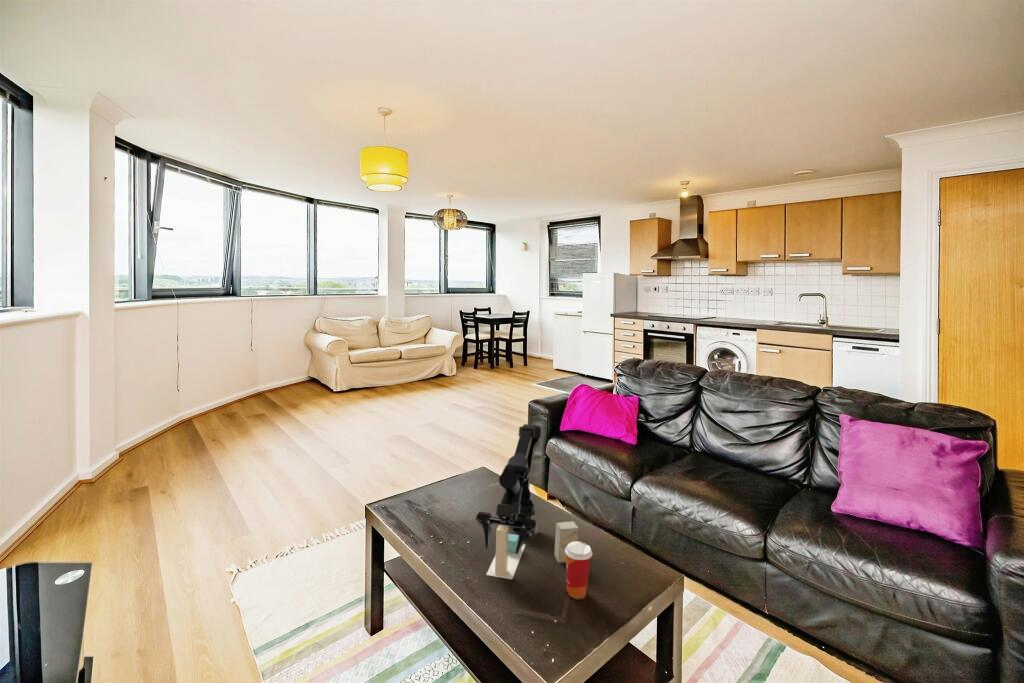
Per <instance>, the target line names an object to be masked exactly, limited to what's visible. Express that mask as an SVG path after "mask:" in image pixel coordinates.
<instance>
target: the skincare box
mask: <svg viewBox="0 0 1024 683" xmlns="http://www.w3.org/2000/svg"><path fill="white" fill-rule="evenodd" d="M554 537H555V538H554V539H555V540H554V551H553V552H554V555H553V556H554V558H555V560H556V561H557V563H558V564H564V563H566V553H565V549H566V547H567V545H568V544H569V543H571V542H575V541H578V537H579V526H578V525H577V523H576V522H575V521H574V520H572V521H560V522H555V534H554ZM578 542H579V541H578Z"/></svg>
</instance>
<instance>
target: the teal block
mask: <svg viewBox="0 0 1024 683" xmlns="http://www.w3.org/2000/svg"><path fill="white" fill-rule="evenodd" d="M519 537H520V534H519V535H518V534H514V533H513V534H512V533H508V552H511V553H516V548H517V544H518V540H519Z"/></svg>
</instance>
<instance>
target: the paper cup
mask: <svg viewBox="0 0 1024 683" xmlns="http://www.w3.org/2000/svg"><path fill="white" fill-rule="evenodd" d="M565 553H566V562H565V565H566V566H565V568H566V572H565V573H566V574H565V576H566V579H565V580H566V594H568V595H569V596H571V597H573V598H582V597H584V596H585V595H586V596H587V593H588V587H589V577H590V569H591V561H592V557H593V551H592V548H591V546H590V544H587V543H585V542H582V541H575V542H571V543H569V544H568V545H567V547H566V549H565ZM568 595H567V596H568ZM569 596H568V597H569Z"/></svg>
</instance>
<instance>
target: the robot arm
mask: <svg viewBox="0 0 1024 683" xmlns="http://www.w3.org/2000/svg"><path fill="white" fill-rule="evenodd" d="M543 435H544V428H541V425H535V424H526V423H525V424H524V425H522V426H519V428H518V437H519V438H518V441H517V445H516V448H515V452H514V454H513V455H512V456H511V457H510V458H508V461H507V464H506V465H505V466H504V468H503V470H502V472H501V474H500V476H499V478H498V483H499V485H500V487H501V490H502V492H503V494H502V498H501V501H500V503H497V504H496V505H497V506H496V510H495V511H496V512H495V515H496V516H497V517H494V516H492V515H491V513H490V512H483V511H478V512H477V514H476V517H475V521H476V523H477V524H478V526H480V527H481V529H483V533H484V543H485V550H486V551H487V550H488V549H489V547H490V540H491V535H492V534H491V533H492V527H491V526H492V525H498V526H499V525H502V526H509V529H511V530H512V531H519V532H520V533H519V540H518V544H517V548H516V555H517V554H518V553H519V551H520V549H521V547H522V546H523V544H525V542H526V541H527V540H528V538H529V537H533V535H537V534H538V529H539V527H538V523H537V520H536V519H532V517H533V516H535V515H536V508H535V506H536V505H535V502H534V500H533V494H532V493H531V490H530V486H531V478H532V470H533V464H534V456H535V450H536V449H537V447H538V446H539V445H540V444H541V439H543Z"/></svg>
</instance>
